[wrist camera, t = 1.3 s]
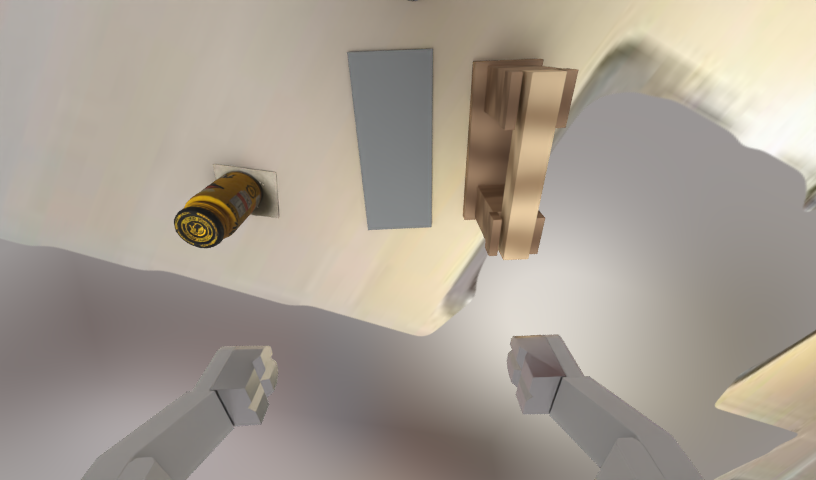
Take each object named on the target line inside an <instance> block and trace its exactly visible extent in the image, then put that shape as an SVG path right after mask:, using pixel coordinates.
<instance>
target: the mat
mask: <svg viewBox="0 0 816 480" xmlns="http://www.w3.org/2000/svg"><path fill="white" fill-rule="evenodd" d="M347 54H348V62H349V71H350V80H351V88H352V97H353V105H354V114H355V122H356V131H357V139H358V148H359V156H360V165H361V173H362V182H363V190H364V199H365V207H366V216H367V224H368V230H379V229H401V228H423V227H431V220H432V67H433V49H414V50H389V51H364V52H347Z"/></svg>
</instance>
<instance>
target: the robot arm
mask: <svg viewBox="0 0 816 480" xmlns="http://www.w3.org/2000/svg"><path fill="white" fill-rule="evenodd" d="M510 345H511V348H512V350H511V351H510V352H509V353H508V358H507V367H508V372H509V376H510V379H511V382H512V383H513V384H514V385H515V386H516V387H517V392H516V396H517V399H518V402H519V405H520V407H521V410H522V413H523V414H550V417H551V418H552V419H553V420H554V421H555V422H556V423H557V424H558V425H559V426H560V427H561V428H562V429H563V430H564V431H565V432H566V433H567V434H568V435H569V436H570V437H571V438H572V439H573V440H574V441H575V442H576V443H577V445H578V446H579V447H580V448H581V449H582V450H583V451H584V452H585V453H586V454H587V455H588V456H589V457H590V458H591V459H592V460H593V461H594V462H595V463H596V464H597V465H598V466H599V467H600V468H601V469H600V471H599V472H598V474H597V476H596V478H595V479H594V480H704V478H703V477H702V476H701V474H700V473H699V471H698V470H697V469H696V467H695V466H694V465H693V463H692V462H691V460H690V459H689V458H688V457H687V455H686V454H685V452H684V451H683V450H682V448H681V447H680V445H679V444H678V443H677V441H676V440H675V439H674V437H673V436H672V435H671V434H670V433H668V432H667V431H666V430H664V429H663V428H661V427H660V426H659V425H657V424H656V423H654V422H653V421H652V420H650V419H648V418H647V417H646V416H644V415H643V414H642V413H640V412H638V411H637V410H636V409H635V408H633V407H632V406H630V405H629V404H627V403H626V402H625V401H623V400H622V399H621V398H619V397H618V396H616V395H615V394H613V393H612V392H611V391H609V390H608V389H606V388H605V387H604V386H602V385H601V384H599V383H598V382H596V381H595V380H594V379H592V378H591V377H590V376H584V375H583V373H582V371H581V369H580V368H579V367H578V365H577V363H576V361H575V360H574V358H573V356H572V354H571V353H570V351H569V350H568V348H567V346H566V345H565V343H564V341H563V340H562V338H561V337H560V336H559V335H531V336H513V337H512V339H511V342H510ZM272 354H273V352H272V350H271V347H270V346H223V347H221V348H220V349H219V350H218V351H217V352H216V354H215V355H214V357H213V359H212V360H211V362H210V363H209V365H208V367H207V368H206V370H205V371H204V373H203V374H202V376H201V378H200V379H199V381H198V382H197V384H196V386H195V387H194V389H193V390H192V391H191V392H190V391H189V392H186V393H185V394H183V395H182V396H181V397H179V398H178V399H176V400H175V401H174V402H172V403H171V404H170V405H168V406H167V407H166V408H164V409H163V410H162V411H160V412H159V413H158V414H156V415H155V416H153V417H152V418H151V419H149V420H148V421H147V422H145V423H144V424H142V425H141V426H140V427H138V428H137V429H136V430H134V431H133V432H132V433H130V434H129V435H128V436H126V437H125V438H123V439H122V440H121V441H119V442H118V443H117V444H115V445H114V446H113V447H112V448H110V449H109V450H107V451H106V452H104V453H103V454H102V455H100V456H99V457H98V458H97V459H96V460H95V462H94V463H93V464H92V466H91V467H90V468H89V469H88V471H87V472H86V473H85V475H84V476H83V477H82V479H81V480H186V479H187V478H188V477H189V476H190V475H191V474H192V473H193V472H194V470H196V469H197V467H198V466H199V465H200V464H201V463H202V462H203V461H204V460H205V459H206V458H207V457H208V456H209V454H210V453H211V452H212V451H213V450H214V449H215V448H216V447H217V446H218V445H219V444H220V443H221V442H222V440H224V438H225V437H226V436H227V435H228V434H229V433H230V432H231V431H232V430H233V429H234V426H247V425H261V424H262V421H263V419H264V416H265V414H266V411H267V408H268V406H269V403H268V400H267V397H268V396H269V395H270V394H271V393H273V392H274V390H275V387H276V384H277V379H278V367H277V363H276V362H275V361H274V360H273V359H271V356H272Z"/></svg>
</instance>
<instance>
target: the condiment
mask: <svg viewBox="0 0 816 480" xmlns="http://www.w3.org/2000/svg"><path fill="white" fill-rule="evenodd" d="M213 167H214V173H215V177H216V181H214V182H213V183H211V184H210V185H209V186H207V187H206V188H205V189H203V190H202V191H201V192H199V193H198V194H196V195H195V196H193V197H192V198H191V199H190V200H189V201H188V202H187V203H186V205H185V207H184V209H182V210H181V211H179V212H178V214H177V215H176V217H175V219H174V225H175V229H176V232H177V233H178V235H179V236H180V237H181V238H182V239H183V240H184V241H186V242H187V243H189V244H191V245H193V246H196V247H199V248H211V247H214V246H216V245H218V244H219V243H221V241H222V240H223V239H224V238H227V237H229V236H231V235H232V234H233V233H234V232H235V231H236V230H237V229H238V227H239V226H240V225H241V224H242V223H243V222H244V221H245V220H246V218H247V217H248V216H249V215H250V214H252V215H259V216H268V217H274V218H279V214H278V212H279V211H278V195H277V181H276V172H268V171H261V170H253V169H247V168H240V167H233V166H225V165H217V164H213ZM260 182H261V183H260ZM262 184H264V186H263V185H262Z"/></svg>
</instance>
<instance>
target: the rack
mask: <svg viewBox="0 0 816 480" xmlns="http://www.w3.org/2000/svg"><path fill="white" fill-rule="evenodd" d="M542 65H543V59H524V60H500V61H475V62H473V70H472V85H471V100H470V115H469V131H468V146H467V161H466V176H465V191H464V206H463V217H464V220H475V219H476V220H477V223H478V225H479V227H480V229H481V231H482V233H483V236H484V238H485V240H486V243H485V248H486V251H487V253H488V255H489V256H497V252H498V245H499V238H500V231H501V224H502V219H501V211H502V204H503V197H504V189H505V182H506V175H507V168H508V161H509V153H510V146H511V139H512V132H513V130H515V125H516V118H517V111H518V104H519V97H520V90H521V83H522V76H523V72H521V70H543V69H555V70H563V71H567V74H566V79H565V84H564V88H563V93H562V98H561V103H560V108H559V113H558V117H557V122H556V127H555V128H566V123H567V119H568V114H569V110H570V105H571V101H572V96H573V92H574V88H575V83H576V79H577V74H578V70H577V69H568V68H567V69H561V68H553V67H545V66H542ZM544 221H545V217H544V216H543V215H542V214H541V213H540V211H539V210H538V214H537V219H536V223H535V228H534V233H533V238H532V243H531V247H530V252H529V254H537V252H538V248H539V243H540V239H541V235H542V230H543V226H544Z"/></svg>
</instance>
